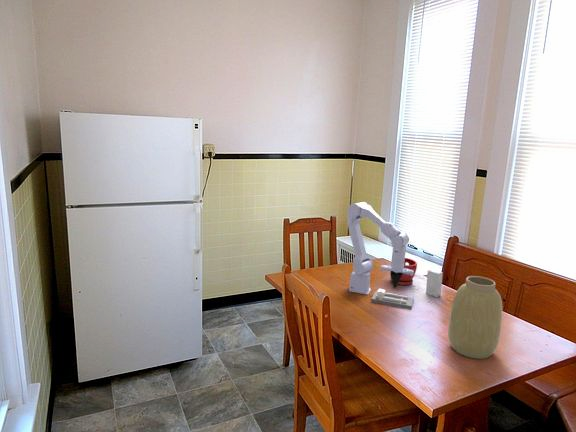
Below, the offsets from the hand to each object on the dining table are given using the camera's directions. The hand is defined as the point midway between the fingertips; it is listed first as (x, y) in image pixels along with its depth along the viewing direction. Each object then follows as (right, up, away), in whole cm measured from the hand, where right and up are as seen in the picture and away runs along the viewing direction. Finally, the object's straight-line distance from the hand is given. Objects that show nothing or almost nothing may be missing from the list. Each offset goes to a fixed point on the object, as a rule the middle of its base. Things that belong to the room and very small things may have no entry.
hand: (395, 287), depth 190 cm
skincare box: (+22, -6, +12) cm, 26 cm away
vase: (+18, -17, -38) cm, 45 cm away
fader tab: (-6, -4, +3) cm, 8 cm away
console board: (-1, -7, +2) cm, 7 cm away
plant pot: (+11, -2, +27) cm, 29 cm away
